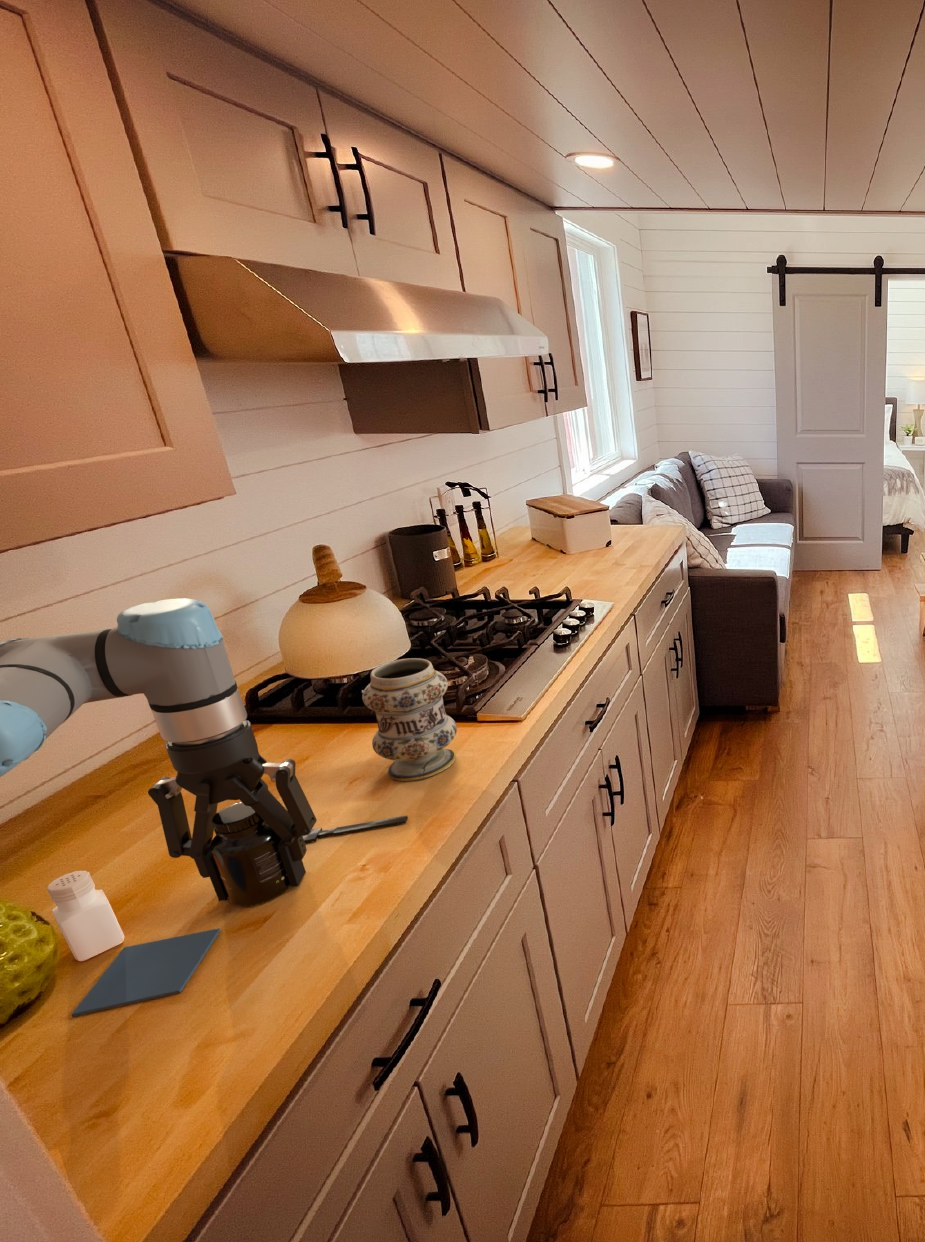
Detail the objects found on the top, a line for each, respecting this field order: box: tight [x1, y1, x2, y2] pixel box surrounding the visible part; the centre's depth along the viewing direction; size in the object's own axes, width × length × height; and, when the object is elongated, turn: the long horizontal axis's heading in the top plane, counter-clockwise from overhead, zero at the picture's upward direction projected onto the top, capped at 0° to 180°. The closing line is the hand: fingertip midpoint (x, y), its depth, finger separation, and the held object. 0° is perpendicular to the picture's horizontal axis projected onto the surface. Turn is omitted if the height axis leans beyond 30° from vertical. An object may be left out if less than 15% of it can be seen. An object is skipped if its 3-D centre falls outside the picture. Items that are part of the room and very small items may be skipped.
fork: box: [302, 815, 409, 844], centre depth 97 cm, size 17×3×1 cm, turn 109°
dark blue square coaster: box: [70, 928, 221, 1017], centre depth 75 cm, size 9×9×1 cm
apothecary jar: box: [361, 657, 458, 782], centre depth 111 cm, size 12×12×18 cm
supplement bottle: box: [210, 801, 292, 908], centre depth 85 cm, size 7×7×12 cm
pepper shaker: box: [46, 870, 126, 962], centre depth 77 cm, size 4×4×10 cm
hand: (263, 886), depth 87 cm, fingers closed on supplement bottle, 7 cm apart
